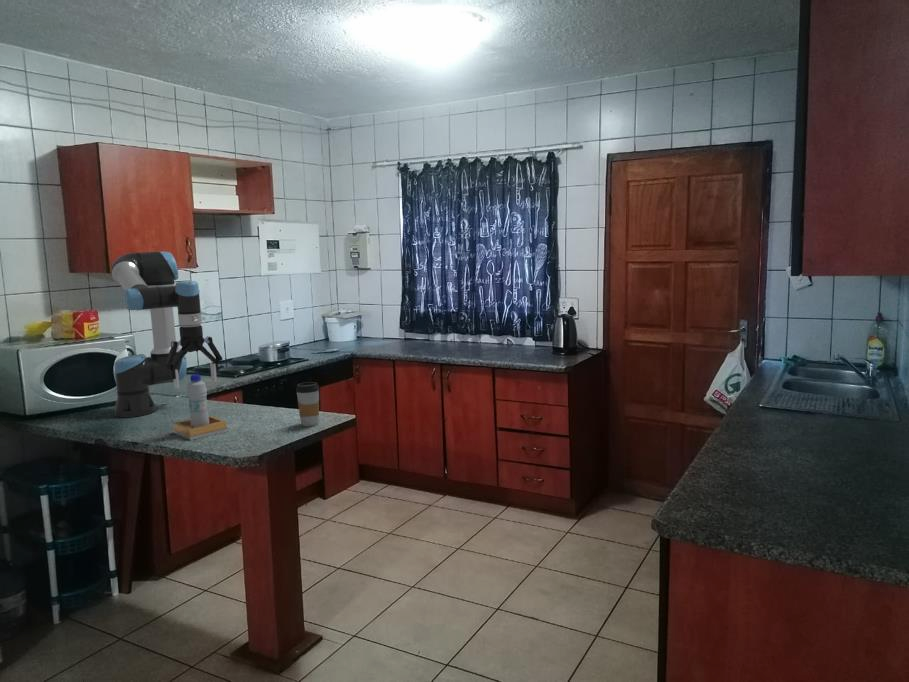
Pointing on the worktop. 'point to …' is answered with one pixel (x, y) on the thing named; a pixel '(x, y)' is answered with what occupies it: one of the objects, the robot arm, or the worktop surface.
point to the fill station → (200, 428)
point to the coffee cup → (308, 403)
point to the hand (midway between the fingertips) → (195, 384)
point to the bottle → (197, 401)
